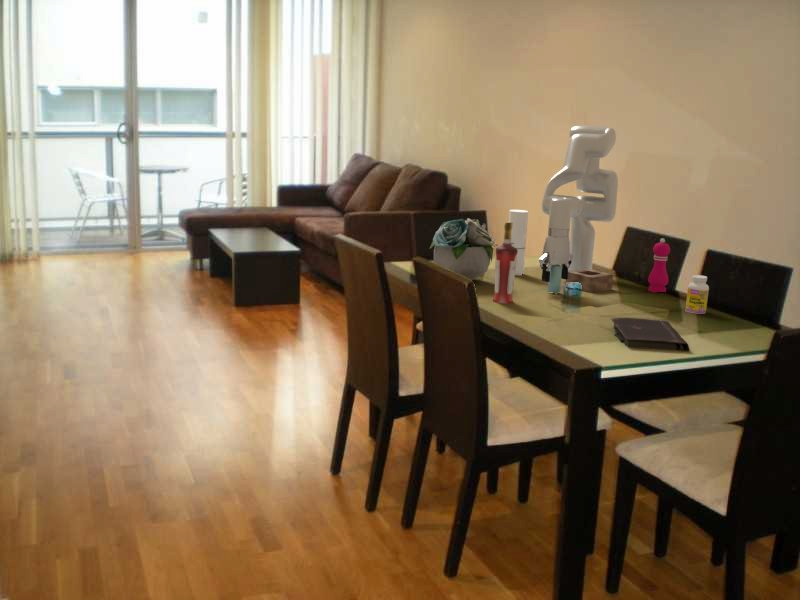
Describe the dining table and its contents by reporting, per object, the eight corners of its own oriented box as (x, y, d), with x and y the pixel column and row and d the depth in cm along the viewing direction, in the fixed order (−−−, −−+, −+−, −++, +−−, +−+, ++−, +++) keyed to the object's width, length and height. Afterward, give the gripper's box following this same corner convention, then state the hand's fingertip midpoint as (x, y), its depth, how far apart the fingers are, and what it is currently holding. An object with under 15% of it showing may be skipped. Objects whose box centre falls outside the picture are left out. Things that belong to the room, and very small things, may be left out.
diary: (668, 335, 279) (670, 319, 278) (688, 359, 254) (690, 342, 253) (606, 332, 280) (608, 316, 278) (621, 355, 255) (622, 338, 254)
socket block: (565, 287, 339) (566, 271, 338) (586, 284, 347) (587, 268, 345) (590, 293, 330) (592, 277, 329) (611, 290, 338) (613, 274, 336)
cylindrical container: (510, 271, 365) (515, 209, 359) (526, 274, 361) (531, 211, 355) (501, 273, 359) (506, 210, 353) (517, 276, 355) (522, 212, 349)
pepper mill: (662, 294, 334) (668, 240, 329) (643, 291, 338) (649, 238, 334) (670, 291, 340) (676, 238, 335) (651, 288, 344) (657, 236, 339)
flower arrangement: (501, 290, 329) (506, 223, 324) (434, 290, 325) (437, 222, 320) (484, 276, 353) (488, 213, 348) (421, 275, 349) (424, 212, 343)
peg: (544, 292, 329) (547, 265, 327) (553, 291, 332) (555, 264, 330) (554, 294, 326) (556, 267, 324) (562, 293, 329) (564, 266, 327)
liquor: (493, 301, 312) (498, 220, 305) (514, 303, 310) (520, 221, 304) (490, 306, 305) (496, 223, 298) (512, 308, 303) (518, 224, 297)
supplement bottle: (684, 314, 305) (688, 277, 302) (685, 310, 311) (689, 273, 308) (705, 317, 303) (709, 279, 300) (706, 312, 309) (710, 275, 306)
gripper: (566, 230, 332) (562, 276, 336) (534, 232, 322) (530, 280, 325) (582, 233, 327) (578, 279, 331) (550, 236, 316) (546, 284, 320)
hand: (554, 280), depth 328 cm, fingers open, 9 cm apart
